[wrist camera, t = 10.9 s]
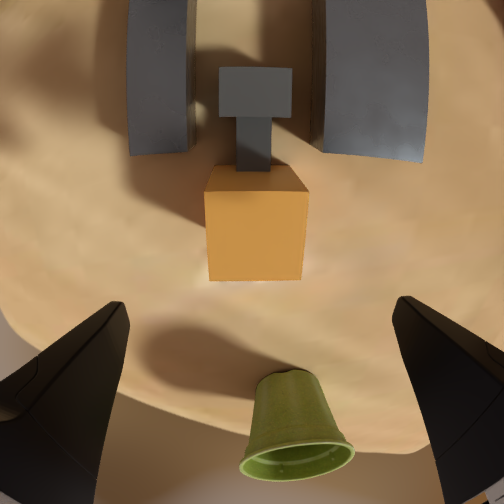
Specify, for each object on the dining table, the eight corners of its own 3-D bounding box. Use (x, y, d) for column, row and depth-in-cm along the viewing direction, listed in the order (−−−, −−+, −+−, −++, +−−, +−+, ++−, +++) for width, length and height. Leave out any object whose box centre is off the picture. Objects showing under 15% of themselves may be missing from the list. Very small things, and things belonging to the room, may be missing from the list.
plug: (216, 233, 19) (209, 281, 14) (213, 73, 15) (201, 60, 10) (285, 232, 19) (301, 279, 14) (292, 74, 15) (315, 62, 10)
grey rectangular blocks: (147, 147, 16) (130, 156, 14) (148, -18, 11) (133, -35, 9) (398, 152, 17) (422, 163, 14) (400, -1, 12) (424, -12, 9)
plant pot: (296, 418, 30) (306, 484, 22) (221, 398, 28) (219, 475, 20) (353, 371, 26) (377, 446, 19) (273, 343, 24) (284, 435, 16)
